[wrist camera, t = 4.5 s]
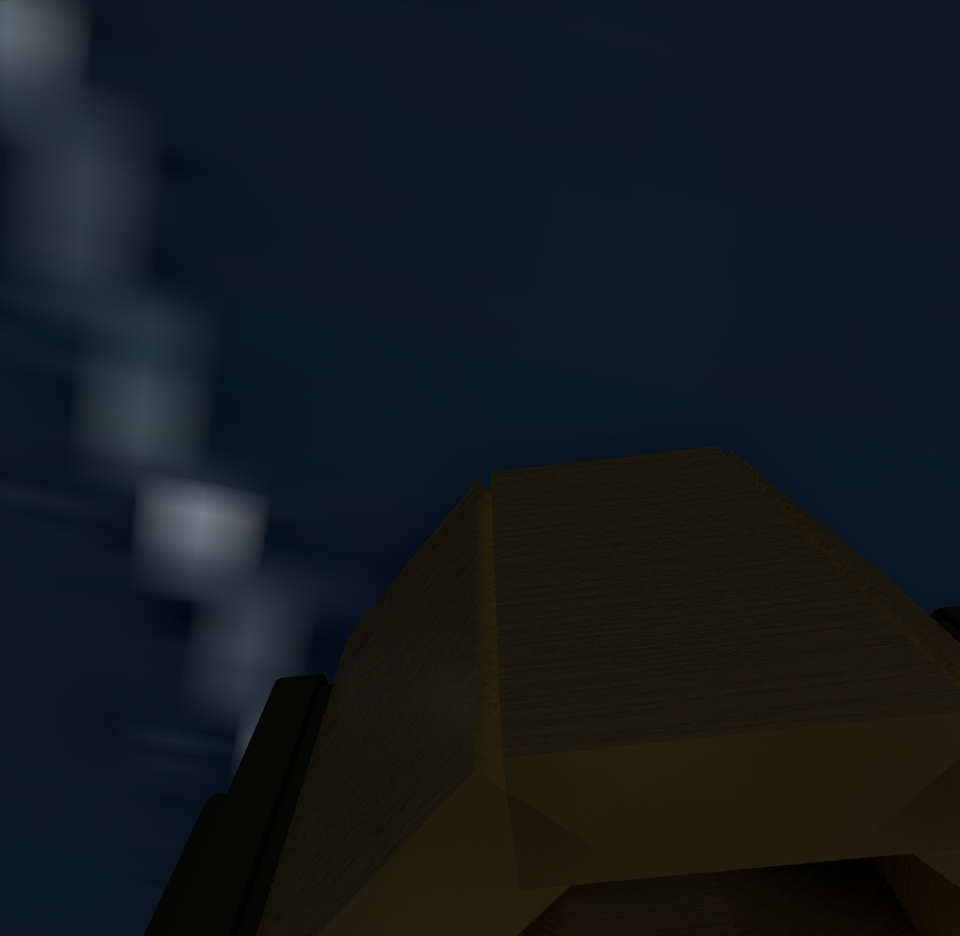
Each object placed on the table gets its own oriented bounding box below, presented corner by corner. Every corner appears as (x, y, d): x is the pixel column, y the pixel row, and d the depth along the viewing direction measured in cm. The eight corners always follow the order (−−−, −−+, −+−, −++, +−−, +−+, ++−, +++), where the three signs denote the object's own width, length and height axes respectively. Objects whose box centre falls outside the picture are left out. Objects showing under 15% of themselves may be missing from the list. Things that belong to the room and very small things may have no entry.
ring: (314, 492, 9) (137, 794, 4) (900, 424, 9) (1377, 669, 4) (403, 923, 11) (348, 1429, 7) (873, 880, 11) (1162, 1373, 6)
